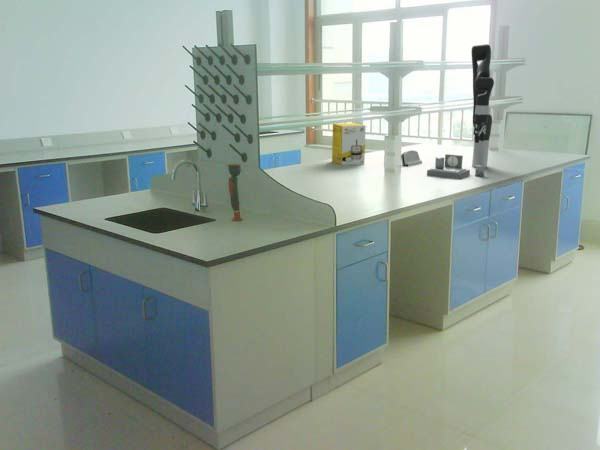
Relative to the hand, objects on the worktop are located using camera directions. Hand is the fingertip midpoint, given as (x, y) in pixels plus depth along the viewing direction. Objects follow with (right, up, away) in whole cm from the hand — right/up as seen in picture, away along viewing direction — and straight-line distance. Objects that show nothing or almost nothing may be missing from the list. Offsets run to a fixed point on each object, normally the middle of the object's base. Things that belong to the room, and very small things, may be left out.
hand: (479, 141), depth 347 cm
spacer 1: (-21, -14, +8) cm, 27 cm away
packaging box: (-72, -7, +50) cm, 88 cm away
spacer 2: (+1, -19, +5) cm, 20 cm away
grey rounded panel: (-32, -9, +45) cm, 56 cm away
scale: (-16, -19, +7) cm, 26 cm away
